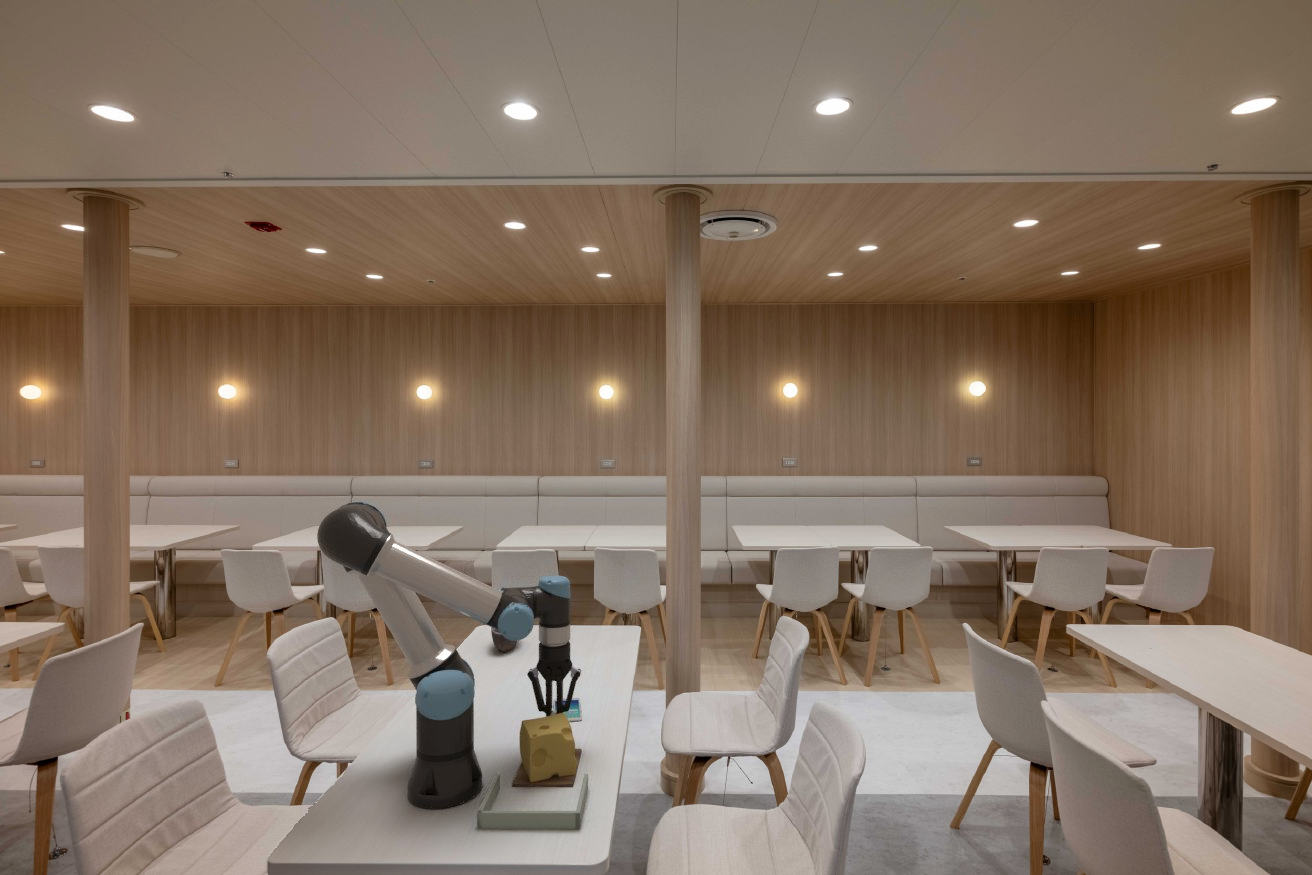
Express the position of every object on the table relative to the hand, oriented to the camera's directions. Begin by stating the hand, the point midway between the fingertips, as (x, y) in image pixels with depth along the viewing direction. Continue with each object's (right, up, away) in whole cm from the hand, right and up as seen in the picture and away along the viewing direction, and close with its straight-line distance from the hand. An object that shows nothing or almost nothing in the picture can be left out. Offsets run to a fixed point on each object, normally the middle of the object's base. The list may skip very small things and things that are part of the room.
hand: (554, 739), depth 162 cm
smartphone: (0, -2, +22) cm, 22 cm away
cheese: (0, -2, -12) cm, 12 cm away
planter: (-28, -2, +75) cm, 80 cm away
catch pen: (0, -2, -26) cm, 26 cm away
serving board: (0, -2, -10) cm, 10 cm away
